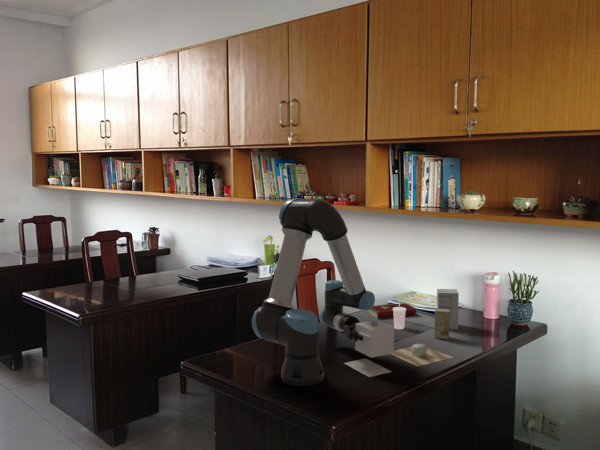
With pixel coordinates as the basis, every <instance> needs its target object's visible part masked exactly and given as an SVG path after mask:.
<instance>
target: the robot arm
mask: <svg viewBox="0 0 600 450" xmlns="http://www.w3.org/2000/svg"><path fill="white" fill-rule="evenodd" d="M278 220H279V223H280V225H281V226H282V227H281V228H282V229H281V231H282V233H283V235H284V236H283V241H282V244H281V248H280V252H279V255H278V256H279V257H278V260H277V264H276V267H275V271H274V275H273V279H272V282H271V286H270V287H271V288H270V290H269V291H270V292H269V296H268V297H267V298H266V299H264V300H263V301H262V306H259V307H258V308H257V309H256V310H255V311H254V312H253V315H252V318H251V328H252V331H253V332H254V334H255V335H256V336H257V338H259V339H262V340H264V341H267V342H271V343H275V344H279V345H282V346H285V356H284V357H285V359H284V360H283V364H282V367H281V370H280V371H281V372H280V380H281V381H282V383H285V384H286V383H287V384H286V385H290V386H295V387H308V386H309V387H310V386H315V385H318V384H320V383H322V382H323V381H324V379H325V371H324V370H325V369H324V367H323V364H322V361H321V359H320V352H319V351H320V324H319V319H320V322H321V323H322V324H323V325H325V326H326V327H328V328H331V329H334V330H336V331H338V332H340V334H343V335H344V336H345V337H346V338H347V339H348V340H350V341H351V340H353V342H355V341H357V339H358V340H360V341H362V342H364V343H367V344H370V336H368V335H365V334H363V333H360V332H358V334H357V331H355V326H356V323H362V322H361V321H360V320H359V318H357V317H356V316H354V315H351V314H348V313H346V312H344V311H343V310H344V309H343V308H344V307H348V308H352V309H356V310H361V311H369V310H370V309H371V308H372V307H373V306H375V303H376V301H375V300H376V297H375V296H376V295H375V293H373V292H372V291H370V290H366V286H365V285H364V284H365V283H364V280H363V278H362V276H361V272H360V270H359V267H358V264H357V262H356V261H357V260H356V259H355V256H354V253H353V250H352V247H351V244H350V242H349V239H348V235H347V233H348V227H347V226H346V225H347V224H346V223H345V221H344V219H343V217H342V215H341V214H340V212H339V211H338V209H337V208H336V207H335V206H333V204H331V203H330V202H328V201H327V200H323V199H313V198H312V199H309V198H308V199H306V198H295V199H294V198H293V199H289V200H287V201H285V202H284V203H283V204H282V206H281V207H280V209H279V213H278ZM313 232H318V233H320V234H321V238H322V239H323V240H324V242H326V243H327V245H328V248H329V250H330V253H331V256H332V258H333V261H334V264H335V267H336V269H337V272H338V274H339V276H340V279H341V280H338V279H335V280H334V279H332V280H330V279H329V280H326V281H325V285H324V308H323V309H322V310H321V312H320V314H319V318H318V316H317V314H316V313H314V312H312V311H310V310H308V309H304V308H303V309H302V308H295V307H294V306H293V304H292V301H293V297H294V293H295V289H296V285H297V281H298V277H299V273H300V269H301V264H302V261H303V257H304V254H305V253H304V252H305V248H306V245H307V241H308V240H310V239H311V238H312V237H313Z"/></svg>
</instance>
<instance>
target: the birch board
mask: <svg viewBox="0 0 600 450" xmlns="http://www.w3.org/2000/svg"><path fill="white" fill-rule="evenodd" d="M390 355H391V356H393V357H396V358H398V359H401V360H403V361H405V362H407V363H409V364H411V365H413V366H415V367H421V366H424V365H429V364H433V363H436V362H441V361H445V360H446V361H447V360H449V359H454V357H453V356H450V355H448V354H445V353H443V352H441V351H438V350H436V349H434V348H431V347H429V346H427V356H426V357H415V356H413V355H412V346H409V347H404V348H400V349H396V350H394V353H393V354H390Z"/></svg>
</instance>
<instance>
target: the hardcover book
mask: <svg viewBox="0 0 600 450" xmlns="http://www.w3.org/2000/svg"><path fill="white" fill-rule="evenodd" d="M394 307H399V303H391V304H390V303H389V304H380V305H379V304H378V305H374V306H373V307H372V308H371V309H370V310H368V313H369V314H370V315H371V314H372V317H374V316H375V318H376V319H377V320H380V318H383V319H391V318H390V317H394V315H393V308H394ZM400 307H403V308H406V311H405V316H406V317H413V316H412V315H416V316H417V315H418V314H417V312H418V311H417V308H416V307H414V306H412V305H410V304H409V303H407V302H405V303H400Z"/></svg>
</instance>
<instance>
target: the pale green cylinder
mask: <svg viewBox="0 0 600 450" xmlns="http://www.w3.org/2000/svg"><path fill="white" fill-rule="evenodd" d="M411 347H412V355H413V356H415V357H426V356H427V347H428V346H427V345H426V344H423V343H414V344H412V346H411Z"/></svg>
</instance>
